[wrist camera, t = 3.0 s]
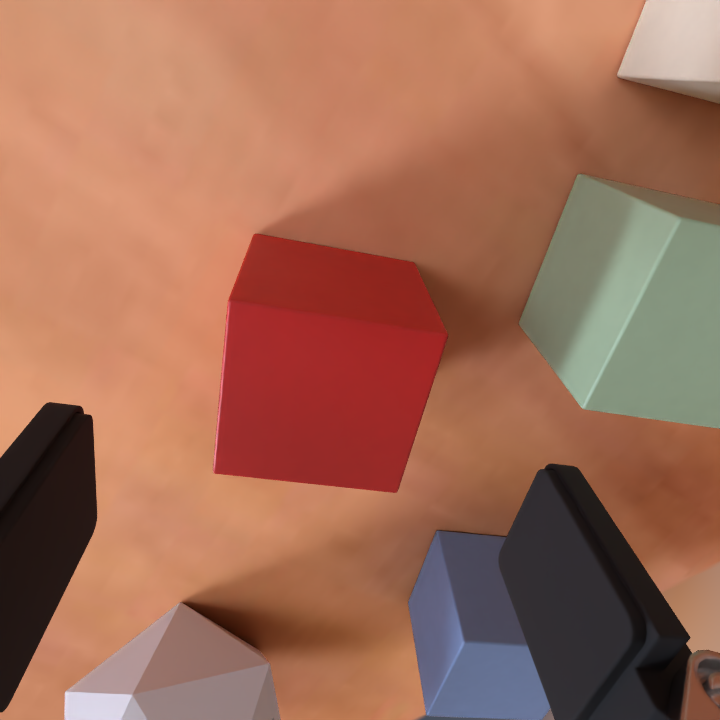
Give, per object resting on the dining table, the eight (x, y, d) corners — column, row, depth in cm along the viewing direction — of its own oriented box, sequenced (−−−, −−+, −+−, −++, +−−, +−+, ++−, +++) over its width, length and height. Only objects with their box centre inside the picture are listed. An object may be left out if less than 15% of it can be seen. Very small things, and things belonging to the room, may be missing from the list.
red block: (253, 232, 15) (227, 299, 11) (415, 261, 16) (449, 335, 12) (238, 373, 18) (211, 474, 13) (379, 393, 18) (397, 494, 14)
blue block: (436, 529, 22) (463, 642, 18) (542, 539, 23) (594, 650, 19) (407, 602, 25) (425, 717, 20) (504, 609, 25) (542, 720, 21)
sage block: (577, 172, 15) (680, 217, 11) (724, 205, 16) (876, 259, 12) (517, 324, 17) (581, 410, 13) (648, 346, 18) (749, 433, 14)
